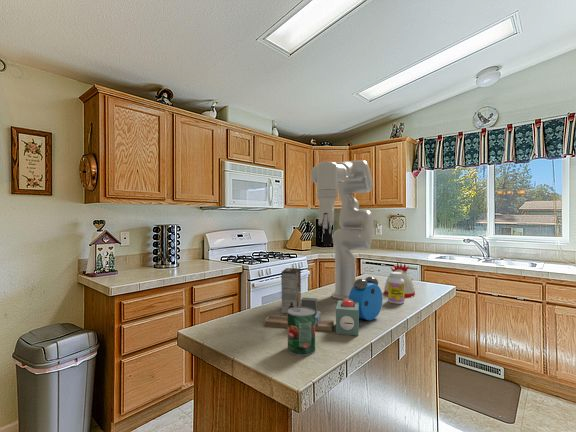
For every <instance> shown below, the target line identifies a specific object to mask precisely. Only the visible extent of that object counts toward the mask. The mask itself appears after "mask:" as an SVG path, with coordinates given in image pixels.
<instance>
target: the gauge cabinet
mask: <svg viewBox="0 0 576 432" xmlns="http://www.w3.org/2000/svg"><path fill="white" fill-rule="evenodd" d="M359 319H360V318H359V302H357V301H353V307H342V300H341V299H337V304H336V307H335V334H336V335H347V336H359V326H360V322H359V321H360V320H359Z"/></svg>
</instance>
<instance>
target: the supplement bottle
mask: <svg viewBox="0 0 576 432" xmlns="http://www.w3.org/2000/svg"><path fill="white" fill-rule="evenodd" d="M390 274H391V278H389V280H388V295H387V300H388V302H389V303H391V304H394V305H396V304H397V305H402V304H404V303H405V297H404V280H403V279H402V273H401V272H393V271H391V272H390Z"/></svg>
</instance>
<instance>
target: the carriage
mask: <svg viewBox="0 0 576 432" xmlns="http://www.w3.org/2000/svg"><path fill="white" fill-rule="evenodd" d="M301 307H308V308H312V309H314V310H315V325H318V324H319V321H320V319H322V312H321V311H320V310H318V298H316V297H301Z"/></svg>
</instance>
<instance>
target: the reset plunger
mask: <svg viewBox="0 0 576 432" xmlns="http://www.w3.org/2000/svg"><path fill="white" fill-rule="evenodd" d="M341 301H342V307H353V300H348V299H346V300H341Z"/></svg>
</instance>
